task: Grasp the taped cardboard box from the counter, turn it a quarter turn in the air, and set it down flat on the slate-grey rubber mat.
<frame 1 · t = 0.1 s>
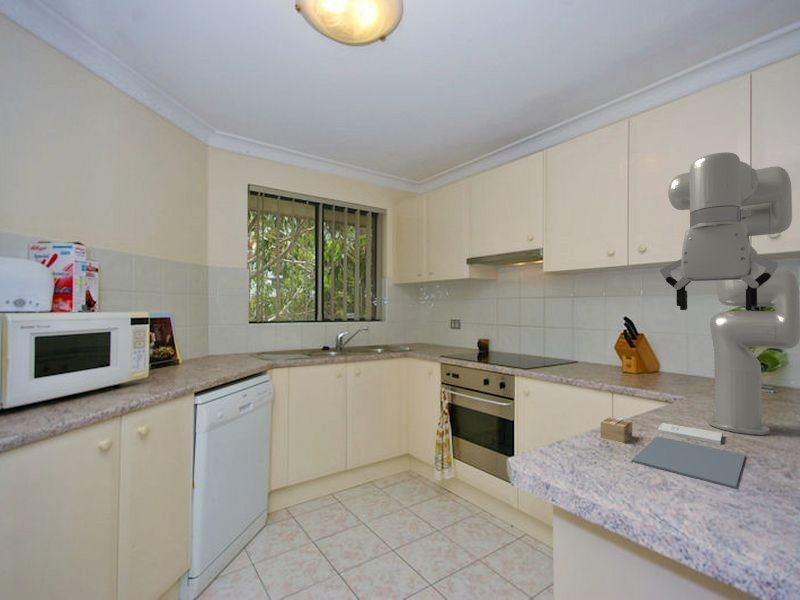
hand: (714, 310, 72), 31 cm above the counter, fingers open, 9 cm apart
mat: (689, 459, 80), on the counter
taped cardboard box: (616, 438, 93), on the counter
external hard drive: (689, 437, 97), on the counter
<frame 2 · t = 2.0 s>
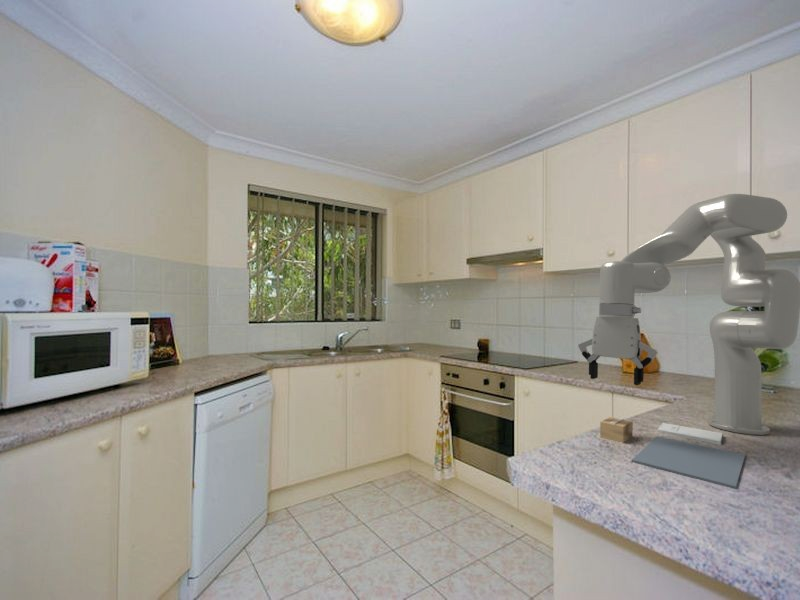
hand: (614, 381, 94), 14 cm above the counter, fingers open, 9 cm apart
nothing on the counter moved.
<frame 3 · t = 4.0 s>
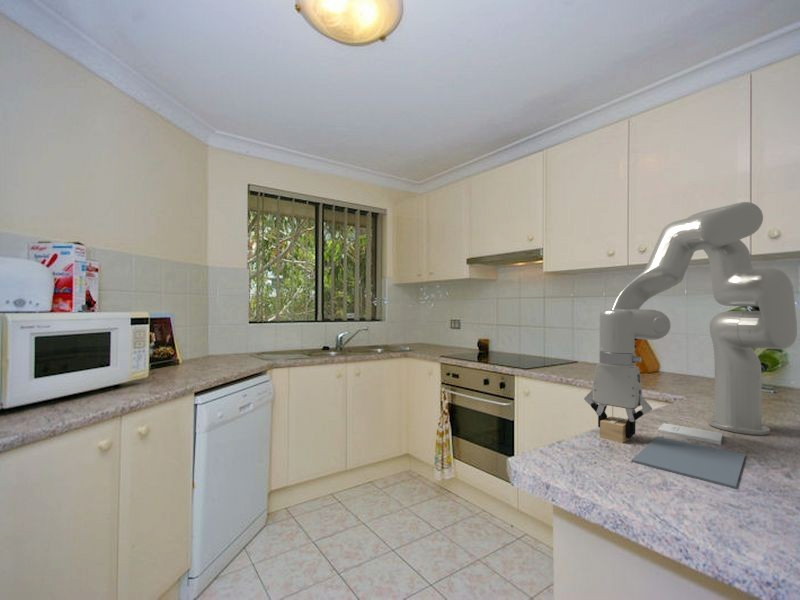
hand: (616, 433, 93), 1 cm above the counter, fingers closed on taped cardboard box, 5 cm apart
taped cardboard box: (616, 437, 93), on the counter, touching gripper
everything else where it was.
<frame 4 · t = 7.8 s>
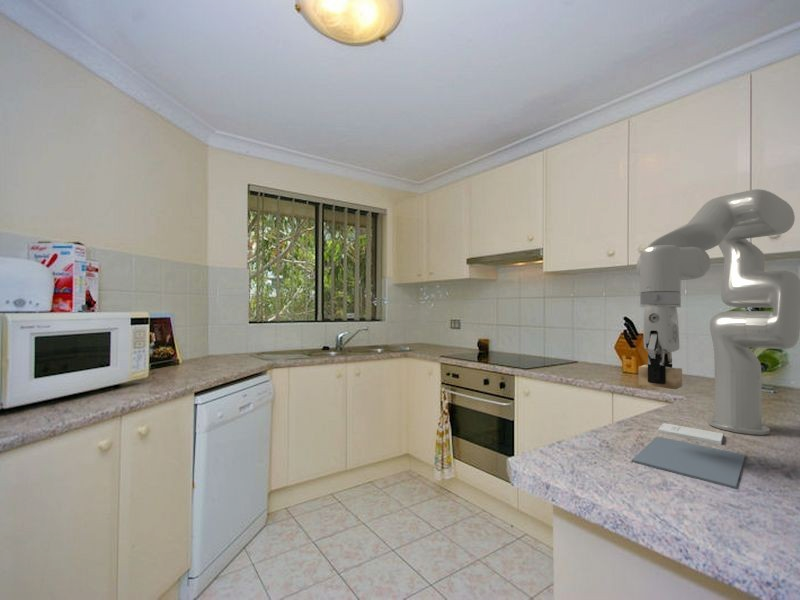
hand: (660, 381, 85), 15 cm above the counter, fingers closed on taped cardboard box, 5 cm apart
taped cardboard box: (660, 385, 85), point 14 cm above the counter, touching gripper
everything else where it was.
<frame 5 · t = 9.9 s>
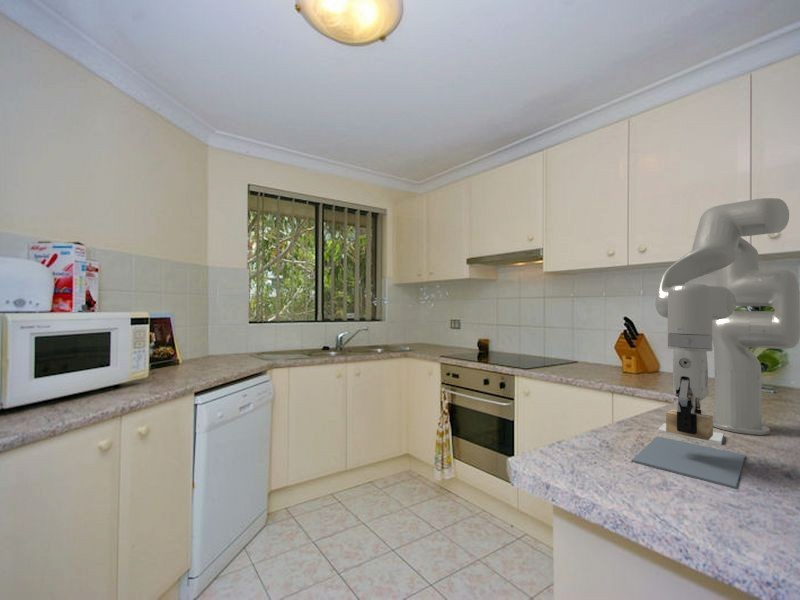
hand: (689, 428, 80), 6 cm above the counter, fingers closed on taped cardboard box, 5 cm apart
taped cardboard box: (689, 433, 80), point 5 cm above the counter, touching gripper
everything else where it was.
when the fingers open (2 cm above the counter, at t = 11.5 s): taped cardboard box stays where it is, resting on mat.
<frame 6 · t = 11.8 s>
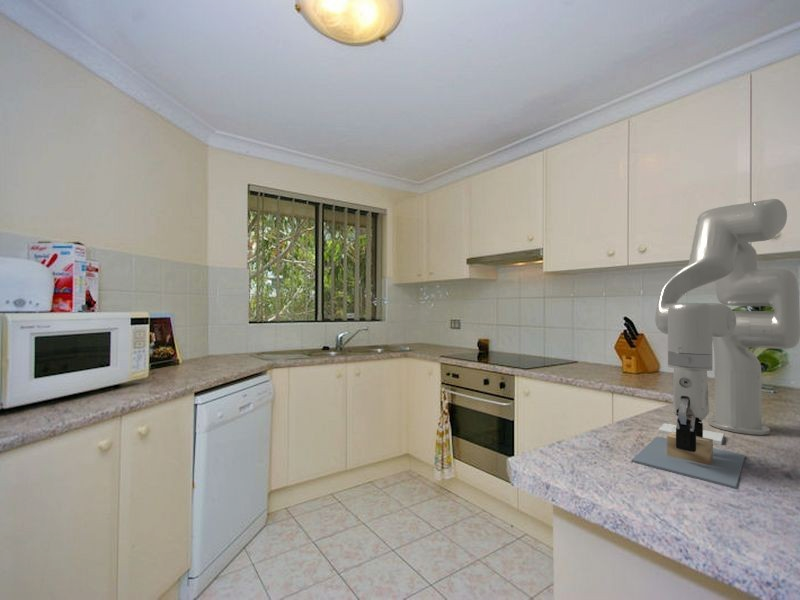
hand: (689, 444, 80), 3 cm above the counter, fingers open, 8 cm apart
taped cardboard box: (689, 457, 80), resting on mat
everything else where it was.
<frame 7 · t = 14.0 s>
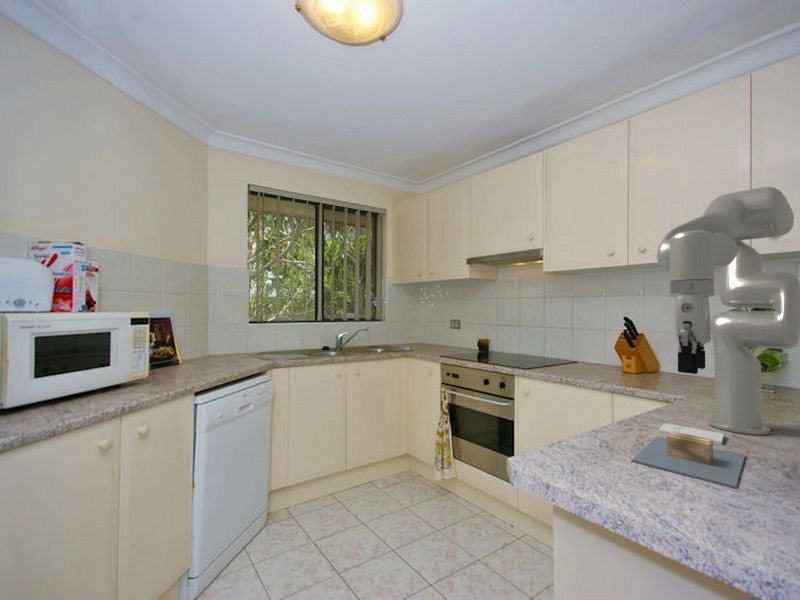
hand: (692, 370, 81), 18 cm above the counter, fingers open, 9 cm apart
nothing on the counter moved.
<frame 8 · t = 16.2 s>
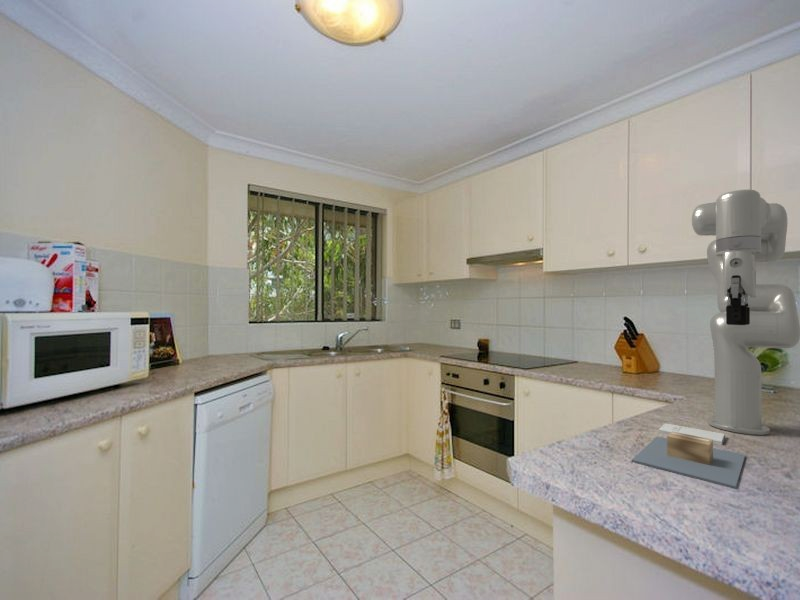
hand: (738, 324, 84), 28 cm above the counter, fingers open, 9 cm apart
nothing on the counter moved.
at the end: taped cardboard box inside the target area on the mat (0.0 cm from its centre), point 0.4 cm above the mat's base; taped cardboard box tilted 0°; the gripper is holding nothing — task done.
